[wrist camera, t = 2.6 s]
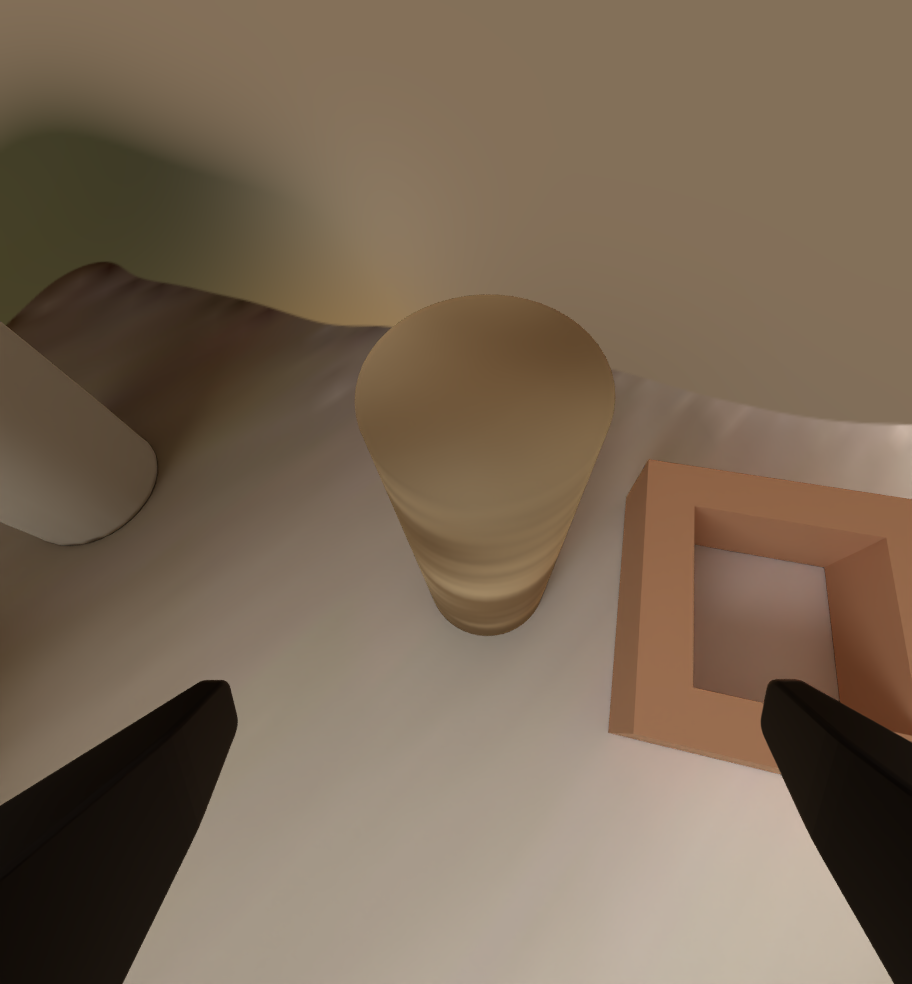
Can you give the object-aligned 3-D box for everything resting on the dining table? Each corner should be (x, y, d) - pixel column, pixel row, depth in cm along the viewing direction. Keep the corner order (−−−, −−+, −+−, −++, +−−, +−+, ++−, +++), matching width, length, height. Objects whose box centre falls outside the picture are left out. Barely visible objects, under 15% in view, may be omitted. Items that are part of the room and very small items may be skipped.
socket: (864, 536, 20) (931, 502, 17) (906, 805, 16) (1006, 823, 13) (626, 497, 22) (648, 459, 19) (608, 732, 18) (633, 733, 15)
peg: (568, 587, 20) (673, 401, 9) (475, 661, 19) (454, 559, 8) (495, 504, 22) (502, 261, 11) (408, 566, 21) (309, 372, 10)
